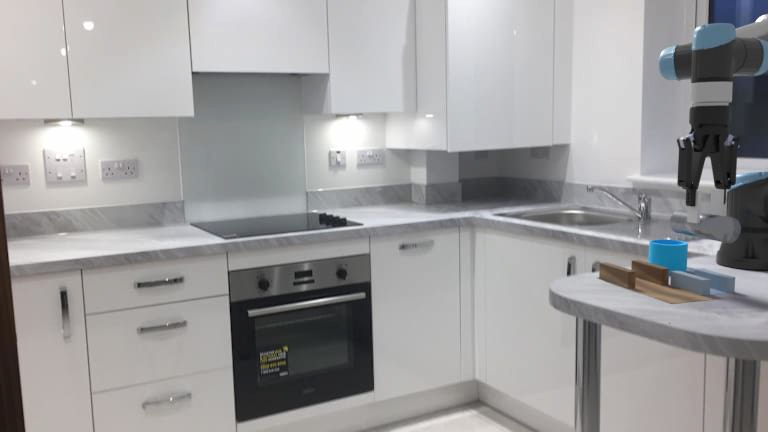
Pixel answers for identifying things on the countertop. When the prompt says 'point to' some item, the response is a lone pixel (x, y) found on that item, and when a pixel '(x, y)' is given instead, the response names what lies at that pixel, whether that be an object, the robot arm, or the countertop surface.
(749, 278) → the countertop surface
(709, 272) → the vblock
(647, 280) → the wooden channel tray
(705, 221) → the axle
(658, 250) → the mug
